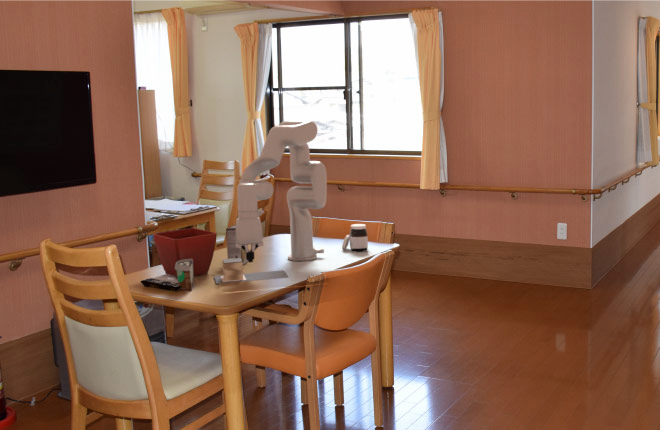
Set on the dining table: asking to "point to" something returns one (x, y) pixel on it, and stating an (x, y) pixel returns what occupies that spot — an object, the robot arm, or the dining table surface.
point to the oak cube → (232, 269)
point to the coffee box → (234, 245)
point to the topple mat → (254, 276)
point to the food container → (185, 274)
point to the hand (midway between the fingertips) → (250, 261)
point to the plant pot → (185, 249)
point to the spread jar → (357, 238)
